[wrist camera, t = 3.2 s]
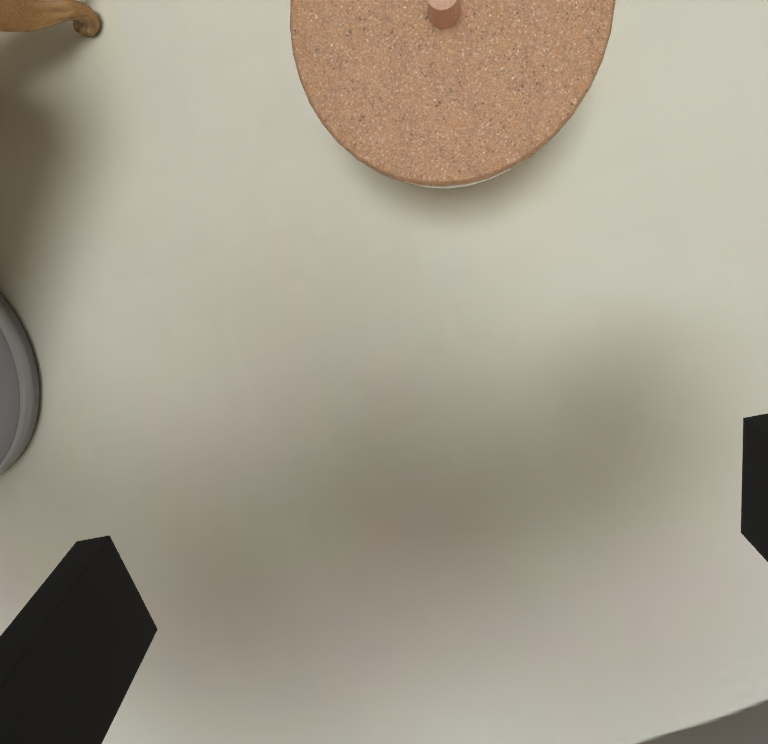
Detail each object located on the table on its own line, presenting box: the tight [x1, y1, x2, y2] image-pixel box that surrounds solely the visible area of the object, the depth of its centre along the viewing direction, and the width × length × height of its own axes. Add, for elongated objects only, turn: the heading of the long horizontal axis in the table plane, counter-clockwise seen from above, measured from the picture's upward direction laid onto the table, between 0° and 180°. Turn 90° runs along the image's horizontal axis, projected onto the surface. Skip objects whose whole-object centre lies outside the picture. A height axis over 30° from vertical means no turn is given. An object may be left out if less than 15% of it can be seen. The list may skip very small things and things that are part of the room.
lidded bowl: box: [290, 0, 615, 188], centre depth 21 cm, size 11×11×9 cm
